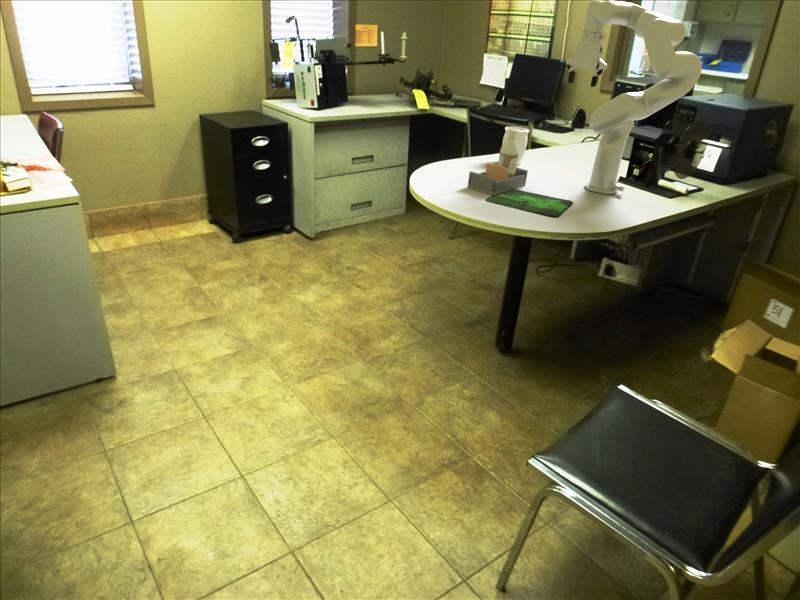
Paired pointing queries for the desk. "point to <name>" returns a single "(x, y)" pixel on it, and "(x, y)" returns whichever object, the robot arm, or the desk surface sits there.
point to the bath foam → (509, 153)
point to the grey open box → (491, 186)
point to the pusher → (496, 172)
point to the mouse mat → (531, 202)
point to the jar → (518, 140)
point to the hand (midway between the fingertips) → (581, 84)
